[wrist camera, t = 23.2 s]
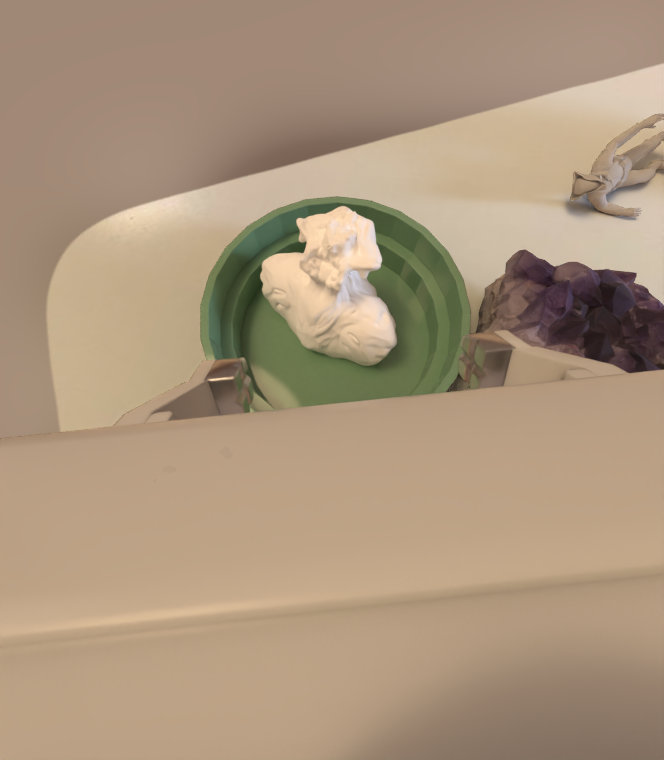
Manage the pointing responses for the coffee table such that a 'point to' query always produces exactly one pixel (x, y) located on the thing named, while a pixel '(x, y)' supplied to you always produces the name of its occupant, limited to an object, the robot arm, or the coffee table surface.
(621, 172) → the grey figurine
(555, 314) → the geode
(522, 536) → the robot arm
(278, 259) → the bust
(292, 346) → the bowl
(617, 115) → the coffee table surface
